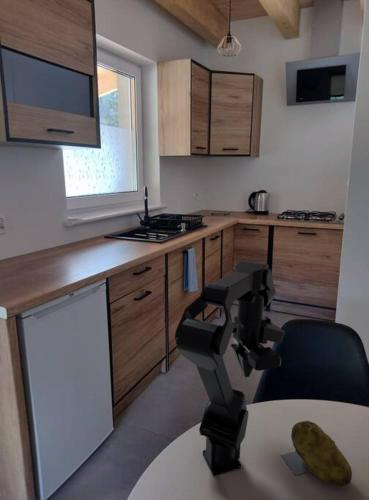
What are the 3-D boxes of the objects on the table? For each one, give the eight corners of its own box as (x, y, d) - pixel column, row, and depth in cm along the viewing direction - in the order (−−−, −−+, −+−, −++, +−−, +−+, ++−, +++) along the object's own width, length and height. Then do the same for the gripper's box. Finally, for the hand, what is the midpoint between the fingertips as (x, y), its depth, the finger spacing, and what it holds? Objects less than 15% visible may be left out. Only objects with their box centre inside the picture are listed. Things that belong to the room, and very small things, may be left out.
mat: (295, 475, 73) (295, 474, 73) (280, 455, 78) (280, 454, 78) (339, 462, 76) (339, 461, 76) (322, 444, 81) (322, 443, 81)
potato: (319, 499, 67) (323, 463, 66) (283, 448, 80) (286, 417, 78) (356, 489, 70) (361, 454, 68) (315, 441, 82) (319, 411, 80)
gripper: (305, 327, 75) (299, 393, 79) (260, 298, 93) (256, 352, 96) (258, 334, 72) (254, 402, 75) (221, 302, 89) (219, 358, 93)
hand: (246, 376), depth 85 cm, fingers closed
